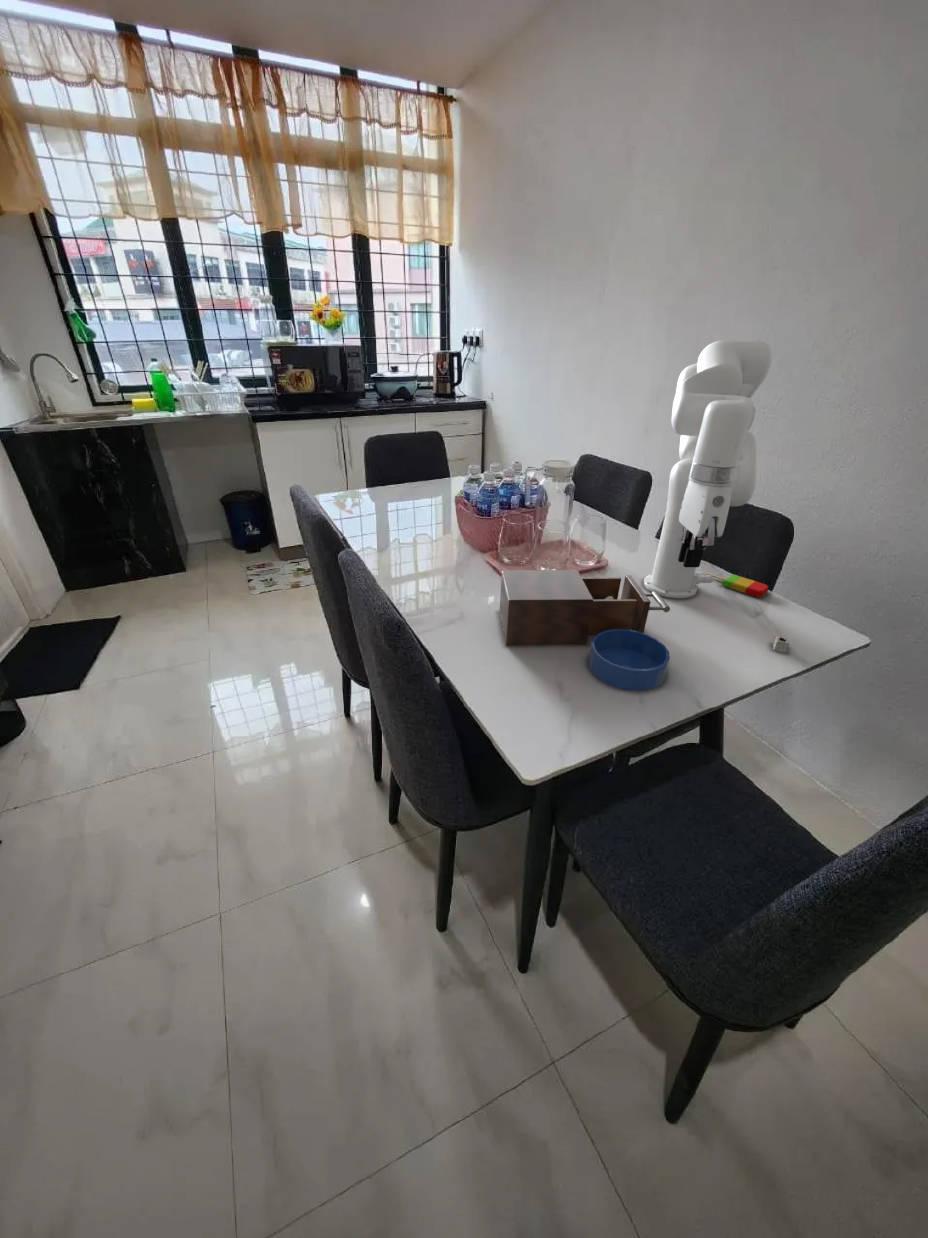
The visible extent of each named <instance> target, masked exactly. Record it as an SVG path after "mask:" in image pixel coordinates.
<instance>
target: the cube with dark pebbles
mask: <svg viewBox="0 0 928 1238" xmlns="http://www.w3.org/2000/svg"><path fill="white" fill-rule="evenodd" d="M789 646H790V641H789V638H788V637H783V636H782V637H781V636H777V635H776V636H775V639H774V641H773V644H772V649H773V651H775V652H780V653H784V654H785V653H786V652H787V650H788V648H789ZM786 654H787V653H786Z"/></svg>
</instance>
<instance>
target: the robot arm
mask: <svg viewBox="0 0 928 1238" xmlns="http://www.w3.org/2000/svg"><path fill="white" fill-rule="evenodd" d="M772 353H773V352H772V349H771V347H770V345H769V344H768V343H766V342H765V341H762V340H736V339H735V340H732V339H725V340H717V341H714V342H711V343H709V344H707V346H705V347H704V348H703V349H702V351H701V352H700V354H699V355H698V358H697V362H696V363H693V364H690V365H688V366H686V367H684V369H682V371H681V372H680V374H679V376H678V379H677V383H676V389H675V395H674V397H673V398H674V399H673V402H672V409H671V419H670V420H671V427H672V430H673V432H674V433H676V434H678V435H680V439H679V446H678V447H679V450H678V457H679V461H677V462H676V463H675V464H674V465H673V466H672V468H671V470H670V473H669V479H668V490H667V491H668V493H667V502H666V508H665V514H664V518H663V523H662V529H661V532H660V537H659V542H658V546H657V549H656V554H655V559H654V564H653V567H652V572H651V573H650V574H648V575H646V576H645V577H644V579H643V586H644V587H645V588H646V589H647V590H648V591H650V593H652V592H654V591H657V592H658V593H659V595H660V596H661V597H664V598H671V599H688V598H691V597H693V596H695V595H696V594H697V592H698V585H699V584H701V583H703V584H711V583H712V582H713V580H714V579H713V578H714V577H713V576H711V575H707V574H704V575H703V572H702V571H696V570H697V569H696V568H700V566H701V563H702V559H703V554H704V551H705V550H707V547H713V546H714V544H715V538H721V537H722V536H723V534H724V531H725V527H726V525H727V524H726V523H727V520H728V515H729V510H730V507H742V506H744V505H746V504H747V503H749V501H750V500H751V499H752V497H753V495H754V493H755V489H756V484H757V440H756V437H755V435H754V434H753V433H752V432H751V431H749V430H750V429H751V427H752V425H753V423H754V421H755V415H756V406H755V405H754V402H753V400H752V399H751V398H752V397H753V396H754V394H755V393H756V392H757V391H758V389H759V388H760V386H761V385H762V384H763V383H764V381H765V379H766V378H767V377H768V374H769V372H770V370H771V365H772V360H773V354H772Z"/></svg>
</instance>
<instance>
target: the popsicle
mask: <svg viewBox="0 0 928 1238" xmlns="http://www.w3.org/2000/svg"><path fill="white" fill-rule="evenodd" d="M704 575H711V576H712V578H716V579H719V580H722V584H721V585H722V586H723V587H725V588H728V589H730V590H734V591H737V592H740V593H743V594H746V595H748V596H752V597H756V598H762V597H763V596H765V595H766V594H767V593H768V591H769V585H768V584H765V583H762V582H759V581H756V580H753V579H750V578H747V577H743V576H741V575H738V574H737V575H736V574H731V575H730V576H728V577H723V576H720V575H717V574H714V573H711V572H708V571H705V572H704Z"/></svg>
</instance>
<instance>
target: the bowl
mask: <svg viewBox="0 0 928 1238" xmlns="http://www.w3.org/2000/svg"><path fill="white" fill-rule="evenodd" d="M590 646H591V647H590V652H589V659H588V666H589V670H590V671H591V673H592V674H593V675H594V676H595V677H596V678H597V679H598V680H600V681H602V682H603V683H605V684H607V685H609V686H612V687H614V688H616V689H619V690H620V689H621V690H625V691H632V692H634V691H636V692H640V691H641V692H642V691H649V690H653V689H654V688H656V687H658V686H660V685H661V684H662V683H663V681H664V679H665V677H666V673H667V670H668V666H669V663H670V660H671V657H670V651H669V650H668V648H667V646H666V645H665V644H664V643H663V642H661V641H660V640H659V639H658V638H656V637H653V636H651V635H650V634H648V633H645V632H644V633H641V632H638V631H634V630H627V629H612V630H607V631H603V632H601V633H599V634H597V635H596V636H593V639H592V641H591V645H590Z"/></svg>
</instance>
